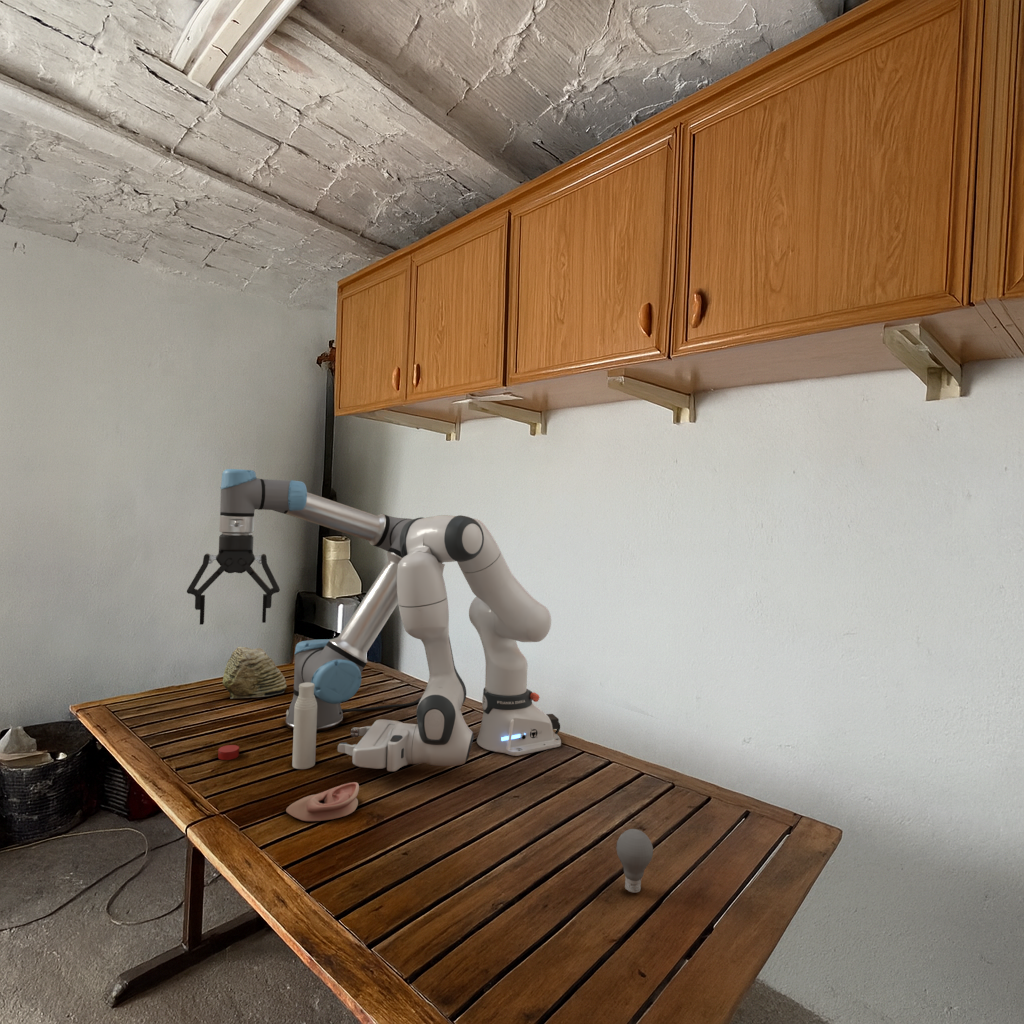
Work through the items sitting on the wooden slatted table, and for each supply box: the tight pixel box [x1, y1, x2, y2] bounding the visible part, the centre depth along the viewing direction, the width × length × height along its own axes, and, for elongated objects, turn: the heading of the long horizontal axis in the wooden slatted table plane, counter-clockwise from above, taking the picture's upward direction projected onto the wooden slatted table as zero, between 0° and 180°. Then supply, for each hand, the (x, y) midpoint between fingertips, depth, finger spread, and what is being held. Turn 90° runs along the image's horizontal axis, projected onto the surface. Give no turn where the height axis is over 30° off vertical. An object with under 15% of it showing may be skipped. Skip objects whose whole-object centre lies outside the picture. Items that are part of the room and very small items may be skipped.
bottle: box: [291, 682, 317, 770], centre depth 149 cm, size 5×5×19 cm
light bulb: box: [615, 828, 654, 894], centre depth 106 cm, size 6×6×10 cm
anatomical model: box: [285, 781, 360, 822], centre depth 129 cm, size 13×4×12 cm
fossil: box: [222, 646, 288, 699], centre depth 198 cm, size 9×18×15 cm, turn 132°
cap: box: [217, 744, 240, 761], centre depth 152 cm, size 5×5×2 cm
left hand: (233, 622), depth 151 cm, fingers open, 13 cm apart
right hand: (345, 739), depth 149 cm, fingers open, 8 cm apart
